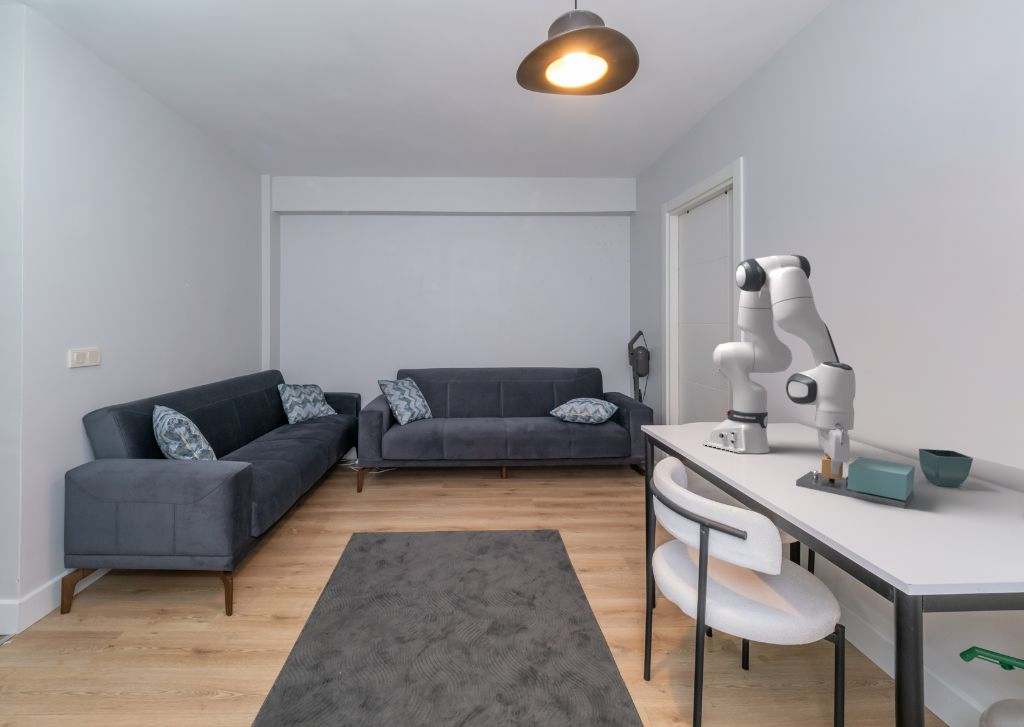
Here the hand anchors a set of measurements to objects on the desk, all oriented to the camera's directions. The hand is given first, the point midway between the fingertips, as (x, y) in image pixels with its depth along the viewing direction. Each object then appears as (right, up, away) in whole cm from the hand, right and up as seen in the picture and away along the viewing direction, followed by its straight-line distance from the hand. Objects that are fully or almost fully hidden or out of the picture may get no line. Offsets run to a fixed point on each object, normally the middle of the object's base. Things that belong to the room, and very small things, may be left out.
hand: (831, 470), depth 137 cm
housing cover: (+8, -3, -8) cm, 11 cm away
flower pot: (+34, -5, +3) cm, 34 cm away
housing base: (+4, -5, -3) cm, 7 cm away
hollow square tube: (0, -2, 0) cm, 2 cm away
